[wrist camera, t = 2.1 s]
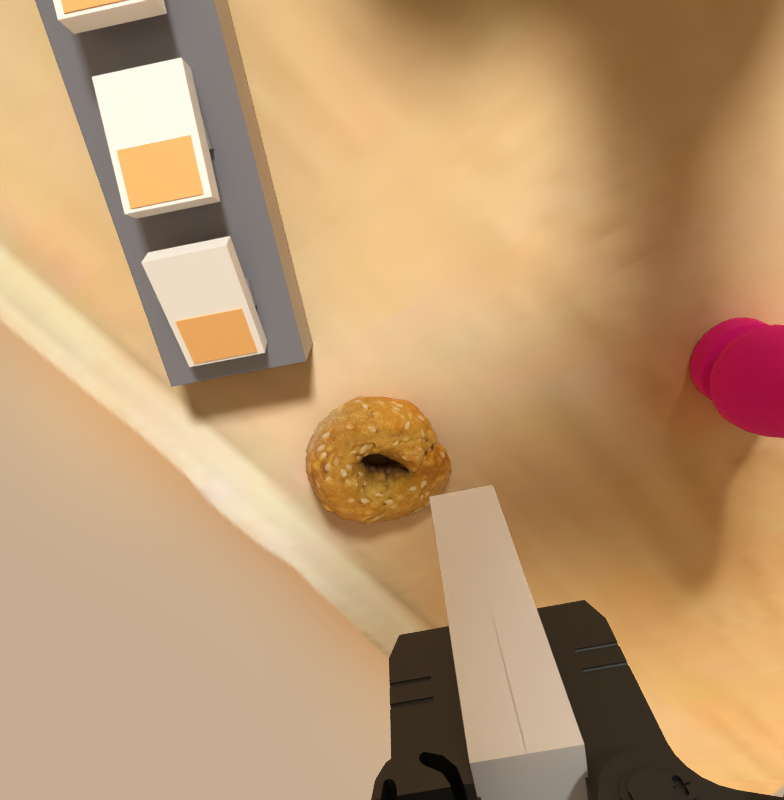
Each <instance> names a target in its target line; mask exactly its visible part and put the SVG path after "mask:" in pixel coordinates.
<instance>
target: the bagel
mask: <svg viewBox="0 0 784 800" xmlns="http://www.w3.org/2000/svg"><path fill="white" fill-rule="evenodd" d="M306 453H307V455H306V473H307V476H308V480H309V481H310V483H311V485H312V488H313V490H314V493H315V495H316V496H317V498H318V499H319V501H320V502H321V504H322V506H323V507H324V508H325V509H326V510H327V511H330V512H333V513H335V514H336V515H338V516H339V517H341V518H343V519H346V520H352V521H356V522H359V523H363V524H372V523H375V522H378V521H388V520H394V519H398V518H400V517H402V516H408V515H410V514H414V513H416V512H418V511H420V510H421V509H423V508H425V507H427V506H428V505H429V504H430V498H429V497H431V496H436V495H440V493H441V491H442V490H443V488H444V486H445V485H446V483H447V482H448V479H449V477H450V474H451V462H450V459H449V457H448V456H447V454H446V448H445V447H443V446H441V445H440V444H439V443H437V436H436V434H435V432H434V431H433V429H432V428H431V425H430V422H429V420H428V419H427V418H426V417H424V415H423V414H422V413H421V412H420V411H419V409H418V408H417V407H416V406H415V405H413V404H412V403H410V402H408V401H405V400H395V399H391V398H386V397H357V398H355V399H353V400H350V401H348V402H346V403H345V404H343V405H342V406H340V407H338V408H337V409H334V410H333V411H332V412H331V413H330V414H329V416H328V417H327V418H325V419H324V420H323V421H321V422H320V423H319V424H318V426H317V428H316V429H315V431H314V434H313V435H312V437H311V439H310V441H309V444H308V446H307V450H306ZM377 453H378V454H381V455H383V456H386V457H388V458H390V459H392V460H395V462H391V463H387V464H385V465H380V466H375V465H370V464H369V463H367V462H365V461H364V460H363V459H362V458H363V457H365V456H367V455H371V454H377Z"/></svg>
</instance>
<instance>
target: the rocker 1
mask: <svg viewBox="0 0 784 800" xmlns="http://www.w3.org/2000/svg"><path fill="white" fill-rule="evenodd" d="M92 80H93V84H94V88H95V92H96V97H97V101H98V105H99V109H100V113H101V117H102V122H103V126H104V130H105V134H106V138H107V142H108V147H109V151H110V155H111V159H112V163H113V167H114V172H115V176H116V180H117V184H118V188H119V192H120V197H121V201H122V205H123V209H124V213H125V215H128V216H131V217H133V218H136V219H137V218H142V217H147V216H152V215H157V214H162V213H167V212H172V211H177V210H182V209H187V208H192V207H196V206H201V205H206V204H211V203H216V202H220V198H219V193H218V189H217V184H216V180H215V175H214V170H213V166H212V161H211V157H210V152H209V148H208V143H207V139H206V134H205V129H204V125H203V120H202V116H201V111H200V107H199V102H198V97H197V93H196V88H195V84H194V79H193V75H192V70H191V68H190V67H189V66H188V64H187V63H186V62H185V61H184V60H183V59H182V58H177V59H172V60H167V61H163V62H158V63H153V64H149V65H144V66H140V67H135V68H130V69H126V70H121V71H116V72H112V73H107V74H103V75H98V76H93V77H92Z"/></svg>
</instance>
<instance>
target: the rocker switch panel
mask: <svg viewBox="0 0 784 800" xmlns="http://www.w3.org/2000/svg"><path fill="white" fill-rule="evenodd" d="M35 2H36V4H37V7H38V10H39V13H40V16H41V19H42V21H43V24H44V27H45V30H46V33H47V36H48V38H49V41H50V44H51V47H52V50H53V53H54V55H55V58H56V61H57V64H58V67H59V70H60V72H61V75H62V78H63V81H64V84H65V87H66V89H67V92H68V95H69V98H70V101H71V104H72V106H73V109H74V112H75V115H76V118H77V121H78V123H79V126H80V129H81V132H82V135H83V138H84V140H85V143H86V146H87V149H88V152H89V155H90V157H91V160H92V163H93V166H94V169H95V172H96V174H97V177H98V180H99V183H100V186H101V189H102V191H103V194H104V197H105V200H106V203H107V206H108V208H109V211H110V214H111V217H112V220H113V223H114V225H115V228H116V231H117V234H118V237H119V240H120V242H121V245H122V248H123V251H124V254H125V257H126V259H127V262H128V265H129V268H130V271H131V274H132V276H133V279H134V282H135V285H136V288H137V291H138V293H139V296H140V299H141V302H142V305H143V308H144V310H145V313H146V316H147V319H148V322H149V325H150V327H151V330H152V333H153V336H154V339H155V342H156V344H157V347H158V350H159V353H160V356H161V359H162V361H163V364H164V367H165V370H166V373H167V376H168V378H169V381H170V384H171V387H172V386H178V385H183V384H188V383H194V382H199V381H204V380H209V379H215V378H220V377H225V376H231V375H236V374H241V373H247V372H252V371H257V370H262V369H268V368H273V367H278V366H284V365H289V364H294V363H300V362H305V361H307V358H308V355H309V352H310V350H311V347H312V344H313V343H312V339H311V335H310V331H309V327H308V323H307V319H306V315H305V311H304V307H303V303H302V299H301V295H300V291H299V287H298V283H297V279H296V275H295V271H294V267H293V263H292V259H291V254H290V250H289V246H288V242H287V238H286V234H285V230H284V226H283V222H282V218H281V214H280V210H279V206H278V202H277V198H276V194H275V190H274V186H273V182H272V178H271V174H270V170H269V166H268V162H267V158H266V154H265V150H264V146H263V142H262V138H261V134H260V130H259V126H258V122H257V118H256V114H255V110H254V106H253V102H252V98H251V94H250V90H249V86H248V82H247V78H246V74H245V70H244V66H243V62H242V58H241V54H240V50H239V46H238V42H237V38H236V34H235V30H234V26H233V22H232V18H231V14H230V10H229V6H228V2H227V0H164V2H165V7H166V11H167V14H163V15H158V16H154V17H149V18H145V19H140V20H136V21H131V22H127V23H122V24H117V25H113V26H108V27H104V28H99V29H95V30H90V31H86V32H81V33H77V34H74V33H72V32H71V31H70V30H69V29H68V28H67V27H65V26H64V25H63V24H62V23H61V22H60V21H58V19H57V14H56V10H55V6H54V2H53V0H35ZM177 58H182V59H183V60H184V61H185V62H186V63H187V64H188V66H189V67H190V68H191V70H192V75H193V79H194V84H195V88H196V93H197V97H198V102H199V107H200V111H201V116H202V120H203V125H204V129H205V134H206V139H207V143H208V148H209V152H210V157H211V161H212V166H213V170H214V175H215V180H216V184H217V189H218V193H219V198H220V202H216V203H211V204H206V205H201V206H196V207H192V208H187V209H182V210H177V211H172V212H167V213H162V214H157V215H152V216H147V217H142V218H137V219H136V218H133V217H131V216H128V215H125V213H124V209H123V205H122V201H121V197H120V192H119V188H118V184H117V180H116V176H115V172H114V167H113V163H112V159H111V155H110V151H109V147H108V142H107V138H106V134H105V130H104V126H103V122H102V117H101V113H100V109H99V105H98V101H97V97H96V92H95V88H94V84H93V80H92V77H93V76H98V75H103V74H107V73H112V72H116V71H121V70H126V69H130V68H135V67H140V66H144V65H149V64H153V63H158V62H163V61H167V60H172V59H177ZM228 236H230V237H231V240H232V243H233V246H234V249H235V251H236V254H237V257H238V260H239V263H240V266H241V268H242V271H243V274H244V277H245V280H246V283H247V285H248V288H249V291H250V294H251V297H252V300H253V302H254V305H255V308H256V311H257V314H258V317H259V319H260V322H261V325H262V328H263V331H264V334H265V336H266V339H267V345H266V350H265V353H261V354H256V355H251V356H246V357H240V358H235V359H230V360H224V361H219V362H214V363H209V364H203V365H198V366H193V367H189V365H188V363H187V361H186V359H185V356H184V354H183V352H182V350H181V348H180V346H179V343H178V341H177V339H176V337H175V335H174V333H173V330H172V328H171V326H170V324H169V322H168V319H167V317H166V315H165V313H164V311H163V309H162V306H161V304H160V302H159V300H158V298H157V295H156V293H155V291H154V289H153V287H152V285H151V282H150V280H149V278H148V276H147V274H146V272H145V269H144V267H143V265H142V263H141V262H142V261H143V259H144V258H145V256H146V255H147V253H148V252H153V251H158V250H163V249H168V248H173V247H178V246H183V245H188V244H193V243H198V242H203V241H208V240H213V239H218V238H223V237H228Z"/></svg>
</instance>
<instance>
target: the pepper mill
mask: <svg viewBox="0 0 784 800" xmlns="http://www.w3.org/2000/svg"><path fill="white" fill-rule="evenodd" d="M690 373H691V378H692V381H693V383H694V384H695V386H696V387H697V389H698V390H699V391H700V392H701V393H703V394H704V395H705V396H707V397H708V398H710V399H711V400H712V401H713V403H714V406H715V407H716V409H717V410H718V412H719V413H720V414H721V415H722V416H723V417H724V418H725V419H726V420H728V421H729V422H730V423H732V424H734V425H736V426H737V427H739V428H741V429H743V430H745V431H748V432H751V433H755V434H758V435H762V436H767V437H779V438H784V325H768V324H765V323H763V322H761V321H758V320H755V319H751V318H735V319H730V320H728V321H725V322H722V323H720V324H719V325H717V326H715V327H713V328H712V329H711V330H709V331H708V332H707V333H706V334H705V335H704V336H703V337H702V338H701V340H700V341H699V342H698V344H697V345H696V347H695V349H694V352H693V355H692V357H691V363H690Z"/></svg>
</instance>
